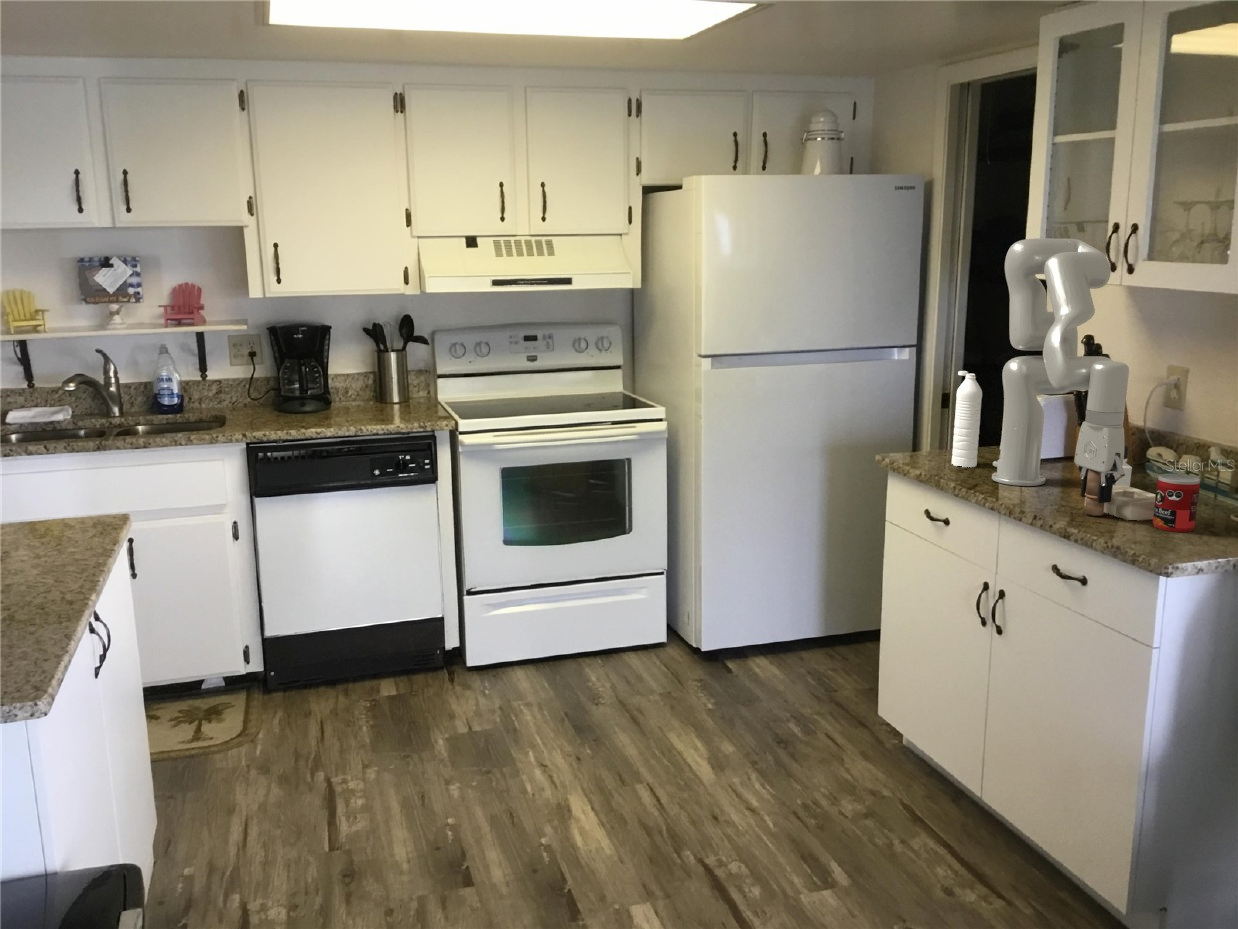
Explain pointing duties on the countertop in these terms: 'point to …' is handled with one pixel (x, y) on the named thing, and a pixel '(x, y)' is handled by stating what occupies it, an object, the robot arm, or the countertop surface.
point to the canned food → (1176, 502)
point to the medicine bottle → (1127, 469)
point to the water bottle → (967, 422)
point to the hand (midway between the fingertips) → (1095, 498)
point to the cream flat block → (1130, 503)
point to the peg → (1093, 494)
